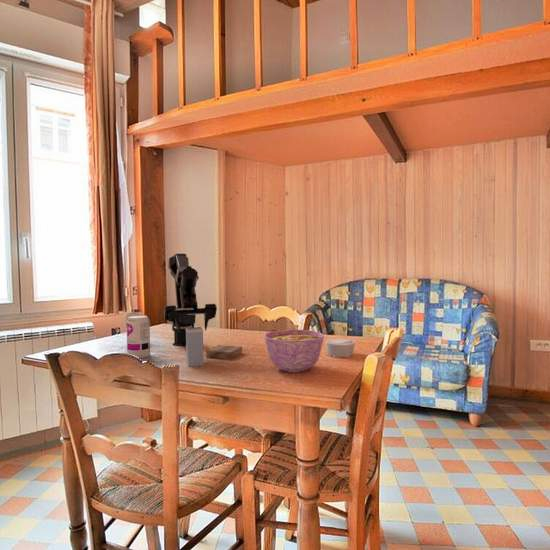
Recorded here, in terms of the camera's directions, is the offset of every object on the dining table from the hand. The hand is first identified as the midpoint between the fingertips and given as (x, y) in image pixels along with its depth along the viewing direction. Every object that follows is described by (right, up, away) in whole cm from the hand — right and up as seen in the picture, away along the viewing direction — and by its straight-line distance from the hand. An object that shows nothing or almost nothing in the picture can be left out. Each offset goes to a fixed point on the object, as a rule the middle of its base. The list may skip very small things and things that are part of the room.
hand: (193, 330), depth 159 cm
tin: (+1, -11, -2) cm, 12 cm away
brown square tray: (+10, -11, +10) cm, 18 cm away
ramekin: (+54, -11, +10) cm, 56 cm away
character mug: (-31, -10, +33) cm, 47 cm away
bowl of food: (+36, -12, -10) cm, 39 cm away
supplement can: (-22, -11, +10) cm, 27 cm away
